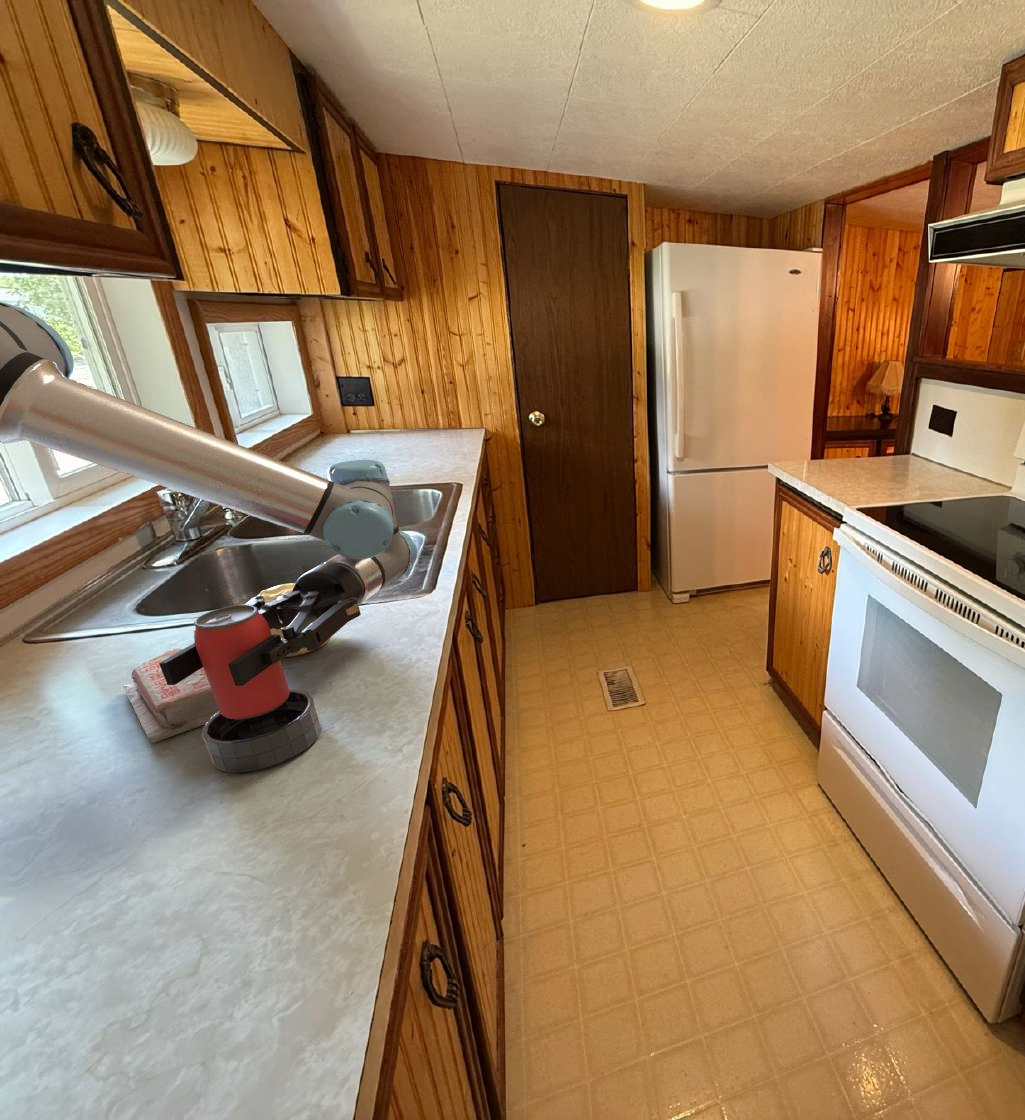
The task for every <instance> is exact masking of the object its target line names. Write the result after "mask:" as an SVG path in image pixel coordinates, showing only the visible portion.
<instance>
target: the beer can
mask: <svg viewBox="0 0 1025 1120" xmlns="http://www.w3.org/2000/svg"><path fill="white" fill-rule="evenodd" d="M193 625H194V627H195V628H194V629H195V633H194V632H193V638H194V639H193V641H194V643H195V646H196V649H197V652H198V654H199V657H200V660H201V662H202V665H203V668H204V670H205V673H206V676H207V678H208V681H209V684H210V686H211V689H212V692H213V694H214V697H215V700H216V702H217V705H218V708H219V710H220V713H221V714H222V715H223V716H225V717H226V718H229V719H235V720H238V719H249V718H254V717H257V716H261V715H264V714H266V713H268V712H271V711H273V710H275V709H276V708H278V707H279V706H281V705H282V704H283V703H284V702H285V701H286V700H287V699H288V696H289V694H290V691H289V690H290V688H289V684H288V682H287V678H286V675H285V672H284V669H283V666H282V663H281V660H280V661H279V662H277V663H275V664H272V665H271V666H269V667H268V668H267V669H265V670H264V671H262V672H261V673H260V674H258V675H257V676H255V677H254V678H253V679H251V680H250V681H249V682H247V683H246V684H244V685H243V686H235V683H234V680H233V677H232V675H231V672H230V669H229V666H228V663H230V662H232V661H233V660H235V659H236V658H238V657H239V656H241V655H242V654H244V653H245V652H247V651H248V650H250V649H251V648H253V647H254V646H256V645H258V644H259V643H261V642H262V641H264V640H265V639H267V638H268V637H270V636H271V635H272V634H271V631H270V628H269V625H268V622H267V621H266V619H265V618H264V617H263V616H262V615H261V614H260V613H259V612H258V609H257V607H255V606H252V605H244V604H235V605H229V606H225V607H220V608H216V609H213V610H211V611H208V612H206V613H204V614H202V615H199V616H198V617H197V618H196V619H195V620H194V622H193Z"/></svg>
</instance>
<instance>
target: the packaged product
mask: <svg viewBox="0 0 1025 1120" xmlns="http://www.w3.org/2000/svg"><path fill="white" fill-rule="evenodd" d="M183 649H184V648H174V649H172V650H171V649H170V650H167V651H166V652H164V653H163V654H161V655H158V656H155V657H154V658H152V659H150V660H148V661H146V662H143V663H142V664H140V665H138V666H137V667H135V668H133V670H132V672H131V676H130V677H131V679H132V681H133V682H132V683H129V684H122V688H123V689H124V692H125V694H126V697H127V699H128V701H129V702H130V704H131V706H132V707H133V710H134V713H135V715H136V717H137V719H138V721H139V723H140V725H141V727H142V730H143V731H144V733H145V734H146V737H147V738H148V741H149V742H151V743H153V744H154V743H157V742H160V741H162V740H165V739H169V738H170V737H173V736H176V735H179V734H183V733H184V732H188V731H190V730H193V729H195V728H198V727H202V726H205V724H206V723H207V722H208V721H209V720H210V719H211V718H212V717H213V716H215V715H216V714H217V713H219V712H220V710H219V708H218V705H217V702H216V700H215V697H214V694H213V692H212V689H211V686H210V684H209V681H208V678H207V676H206V673H205V670H204V668H201V669H199V670H198V671H196V672H195V673H193V674H191V675H190V676H188V677H187V678H185V679H184V680H182V681H180V682H179V683H177V684H176V685H167V682H166V680H165V677H164V675H163V672H162V670H161V667H160V665H159V663H160V662H162V661H164V660H165V659H167V658H169V657H171V656H172V655H174V654H176V653H178V652H179V651H181V650H183Z"/></svg>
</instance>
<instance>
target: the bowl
mask: <svg viewBox="0 0 1025 1120" xmlns="http://www.w3.org/2000/svg"><path fill="white" fill-rule="evenodd" d="M289 691H290V694H289V696H288V699H287V700H286V701H285V702H284V703H283V704H282V705H281V706H279V707H278V708H276V709H275V710H273V711H271V712H268V713H266V714H264V715H261V716H257V717H254V718H249V719H238V720H235V719H229V718H226V717H225V716H223V715H222V714H221V713H220V712H219V713H217V714H216V715H215V716H213V717H212V718H211V719H210V720H209V721H208V722H207V723H206V724H204V725H203V727H202V731H201V737H202V740H203V742H204V745H205V747H206V750H207V752H208V755H209V757H210V760H211V763H212V764H213V765H214V767H215V768H216V769H217V770H220V771H223V772H226V773H246V772H252V771H253V772H254V771H258V770H259V771H260V770H263V769H267V768H270V767H272V766H276V765H278V764H282V763H283V762H285V761H288V760H290V759H292V758H294V757H295V756H297V755H298V754H300V753H301V752H303V751H304V750H306V749H308V748H309V747H310V746H311V745H312V744H313V743H314V742H316V740H317V739H318V737H319V736H320V734H321V732H322V722H321V718H320V715H319V712H318V709H317V705H316V702H315V698H314V697H313V695H311V694H310V693H309V692H306V691H304V690H298V689H289Z"/></svg>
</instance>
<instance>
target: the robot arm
mask: <svg viewBox="0 0 1025 1120" xmlns="http://www.w3.org/2000/svg"><path fill="white" fill-rule="evenodd" d="M74 372H75V361H74V357H73V353H72V351H71V349H70V347H69V345H68V343H67V341H65V339H64V338H63V337H62V335H61V334H60V333H59V332H58V331H57V330H56V329H55V328H54V327H53V326H52V325H50V323H48V322H47V321H45V320H44V319H42V318H40V317H39V316H37V315H35V314H34V313H32V312H30V311H28V310H26V309H24V308H21V307H19V306H16V305H13V304H10V303H6V302H2V301H0V443H1V444H5V445H7V444H11V443H16V442H23V441H27V442H30V443H33V444H36V445H39V446H41V447H45V448H47V449H51V450H54V451H57V452H60V453H62V454H66V455H69V456H71V457H75V458H78V459H81V460H83V461H87V462H89V463H93V464H95V465H99V466H101V467H104V468H107V469H110V470H114V471H117V472H120V473H122V474H125V475H128V476H130V477H134V478H137V479H141V480H143V481H147V482H149V483H152V484H155V485H158V486H161V487H164V488H168V489H170V490H173V491H175V492H179V493H183V494H185V495H188V496H191V497H194V498H196V499H200V500H202V501H206V502H208V503H212V504H214V505H218V506H220V507H224V508H225V509H230V510H232V511H236V512H238V513H241V514H245V515H247V516H250V517H253V518H256V519H259V520H263V521H266V522H268V523H272V524H274V525H277V526H281V527H283V528H286V529H289V530H292V531H295V532H299V533H302V534H304V535H306V536H307V535H308V536H310V537H313V538H316V539H319V540H322V541H323V542H326V544H327V545H328V546H329V547H330V548H331V550H332V551H334V552H335V553H336V555H334V556H333V557H331V558H330V559H328V560H325V561H324V562H321V564H319V565H317V566H316V567H314V568H312V569H310V570H308V571H307V572H305V573H303V574H301V576H299V577H298V578H297V580H296V581H295V583H296V584H295V586H294V588H293V590H292V592H290V593H287V594H285V595H283V596H280V597H279V598H277V600H273V601H265V599H264V597H263V596H258V595H255V596H253V597H252V598H251V599H250V600H249V601H248V602H246V603H245V604H243V605H252V606H255V607H257V609H258V612H259V613H260V614H261V615H262V616H263V617H264V618H265V619H266V621H267V622H268V625H269V628H270V629H272V628H273V629H278V630H279V629H281V631H282V634H283V637H284V638H282V639H281V637H280V634H273V635H271V636H270V637H268V638H267V639H265V640H264V641H262V642H261V643H259V644H258V645H256V646H254V647H253V648H251V649H250V650H248V651H247V652H245V653H244V654H242V655H241V656H239V657H238V658H236V659H235V660H233V661H232V662H230V663H228V666H229V669H230V672H231V675H232V677H233V680H234V683H235V686H243V685H244V684H246V683H247V682H249V681H250V680H251V679H253V678H254V677H255V676H257V675H258V674H260V673H261V672H262V671H264V670H265V669H267V668H268V667H269V666H271V665H272V664H275V663H277V662H279V661H280V662H281V661H282V660H283V659H284V658H287V657H286V656H287V655H288V654H290V653H296V652H298V651H300V650H301V648H307V650H308V651H311V652H314V651H317V650H318V649H320V648H321V647H323V646H324V645H325V644H326V643H325V642H326V641H327V640H328V639H329V638H330V639H331V638H332V637H333V636H334V635H336V634H337V633H338V631H340V630H341V629H342V628H343V627H345V626H346V625H347V624H348V623H349V622H351V621H352V620H355V619H357V618H359V617H360V616H361V615H362V613H361V610H360V609H361V608H360V605H361V604H363V603H365V602H366V601H367V600H369V599H370V598H371V597H372V596H374V595H375V594H377V593H378V592H380V591H381V590H383V589H384V588H386V587H387V586H388V585H390V584H391V583H393V582H394V581H395V580H398V579H399V578H401V577H403V575H405V574H406V573H407V571H409V569H411V568H412V567H413V566H414V564H415V562H416V560H417V556H418V548H417V545H416V543H415V542H414V541H413V540H412V539H411V536H410V535H409V534H407V533H406V532H404V531H402V530H400V528H399V525H398V522H397V517H396V511H395V505H394V500H393V496H392V495H393V494H392V489H391V486H390V484H391V482H390V478H388V474H387V470H386V466H385V464H384V463H382V462H381V461H379V460H373V459H355V460H347V461H346V460H345V461H341V462H337V463H334V464H332V465H330V466H329V467H328V468H327V470H326V474H327V478H325V477H323V476H320V475H317V474H314V473H312V472H310V471H306V470H305V469H301V468H300V467H297V466H294V465H291V464H289V463H287V462H284V461H282V460H279V459H276V458H274V457H271V456H269V455H266V454H263V453H261V452H258V451H255V450H253V449H252V448H251V449H250V448H248V447H245V446H243V445H240V444H238V443H235V442H232V441H230V440H227V439H225V438H222V437H220V436H217V435H215V434H212V433H209V432H207V431H205V430H202V429H200V428H198V427H194V426H192V425H190V424H187V423H185V422H182V421H180V420H176V419H174V418H171V417H169V416H166V415H164V414H162V413H159V412H156V411H153V410H151V409H148V408H146V407H143V406H141V405H139V404H136V403H133V402H130V401H128V400H125V399H123V398H120V397H118V396H115V395H112V394H110V393H108V392H105V391H102V390H100V389H97V388H94V387H93V386H90V385H87V384H84V383H81V382H80V381H77V380H74V379H73V377H74V374H75V373H74ZM280 620H281V621H280ZM288 625H289V626H288ZM286 626H288V627H286ZM282 628H284V629H282ZM194 633H195V628H194V629H193V634H194ZM330 639H329V640H330ZM324 643H325V644H324ZM323 644H324V645H323ZM322 645H323V646H322ZM320 646H321V647H320ZM319 647H320V648H319ZM182 649H183V650H181V651H179V652H178V653H176V654H174V655H172V656H171V657H169V658H167V659H165V660H164V661H162V662H160V663H159V665H160V667H161V670H162V672H163V675H164V677H165V680H166V682H167V685H176V684H177V683H179V682H180V681H182V680H184V679H185V678H187V677H188V676H190V675H191V674H193V673H195V672H196V671H198V670H199V669H201V668H203V665H202V662H201V660H200V657H199V654H198V652H197V649H196V646H195V642H193V643H192V644H191V643H190V644H189V645H188V646H186V647H184V648H182Z"/></svg>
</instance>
